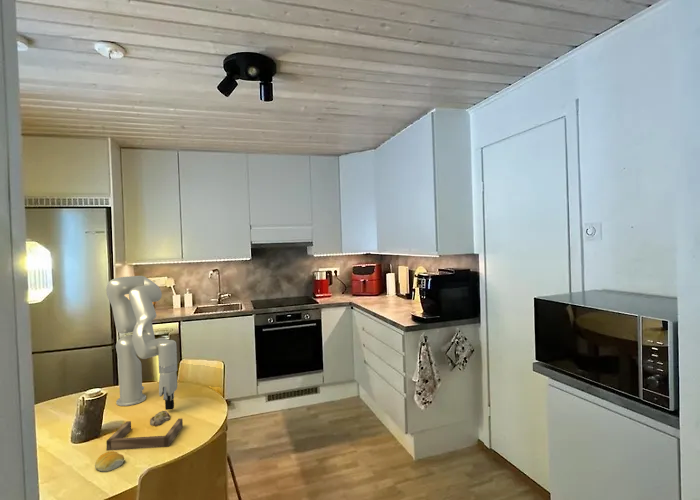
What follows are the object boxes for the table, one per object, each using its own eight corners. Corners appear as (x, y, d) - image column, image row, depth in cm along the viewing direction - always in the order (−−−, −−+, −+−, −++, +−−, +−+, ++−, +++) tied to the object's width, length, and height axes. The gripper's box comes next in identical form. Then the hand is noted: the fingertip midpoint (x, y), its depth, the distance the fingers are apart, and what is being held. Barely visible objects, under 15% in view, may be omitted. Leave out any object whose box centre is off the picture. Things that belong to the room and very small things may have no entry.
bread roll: (114, 456, 143) (114, 445, 143) (128, 463, 138) (127, 452, 138) (89, 467, 136) (89, 455, 136) (102, 475, 132) (102, 463, 131)
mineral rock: (152, 411, 176) (170, 405, 176) (155, 420, 176) (174, 414, 177) (142, 423, 165) (162, 417, 166) (146, 433, 165) (165, 426, 166)
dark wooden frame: (127, 429, 163) (126, 421, 163) (182, 426, 165) (182, 418, 165) (106, 450, 147) (106, 441, 147) (168, 446, 149) (168, 437, 149)
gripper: (165, 363, 186) (167, 402, 187) (152, 374, 171) (154, 416, 172) (182, 362, 187) (183, 401, 187) (170, 373, 172) (172, 415, 172)
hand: (169, 408), depth 180 cm, fingers closed
